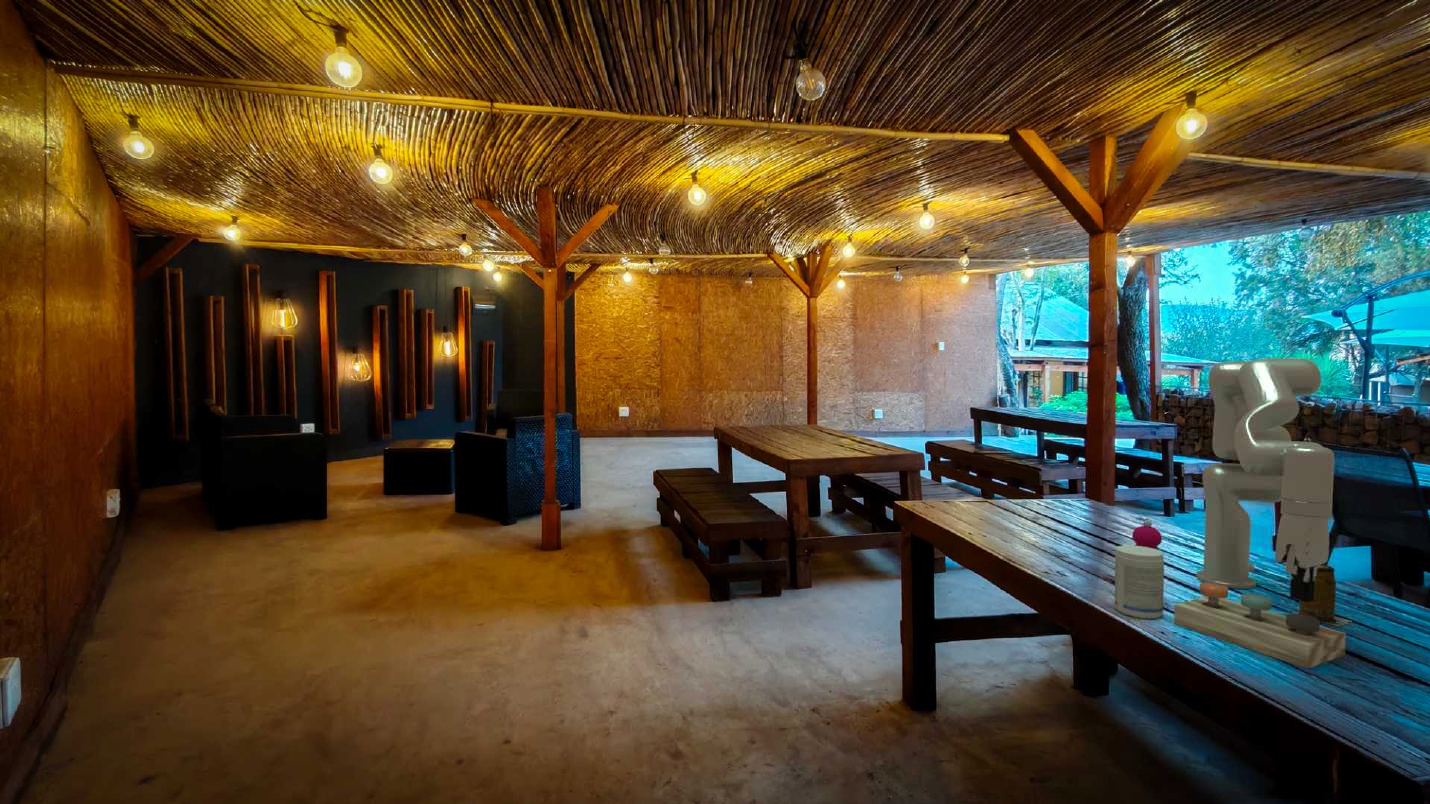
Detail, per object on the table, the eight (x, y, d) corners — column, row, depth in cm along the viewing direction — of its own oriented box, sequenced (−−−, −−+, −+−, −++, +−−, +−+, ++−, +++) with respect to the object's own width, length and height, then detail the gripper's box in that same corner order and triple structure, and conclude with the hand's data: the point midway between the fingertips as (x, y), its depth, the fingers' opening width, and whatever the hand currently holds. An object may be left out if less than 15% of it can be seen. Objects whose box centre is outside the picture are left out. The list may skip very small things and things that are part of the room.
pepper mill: (1168, 607, 156) (1171, 524, 155) (1134, 605, 158) (1137, 522, 157) (1154, 596, 164) (1157, 517, 163) (1122, 595, 165) (1125, 516, 164)
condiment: (1305, 609, 155) (1308, 559, 154) (1352, 622, 147) (1355, 569, 147) (1289, 614, 152) (1292, 563, 151) (1337, 627, 144) (1339, 574, 143)
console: (1211, 614, 152) (1211, 595, 152) (1344, 655, 130) (1345, 632, 130) (1174, 624, 146) (1174, 604, 146) (1307, 668, 124) (1308, 645, 124)
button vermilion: (1207, 603, 149) (1208, 581, 148) (1232, 610, 144) (1233, 588, 144) (1194, 607, 146) (1194, 584, 146) (1219, 614, 142) (1219, 591, 142)
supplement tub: (1173, 618, 150) (1175, 554, 149) (1138, 621, 148) (1140, 557, 147) (1137, 603, 159) (1138, 543, 158) (1104, 606, 157) (1105, 546, 156)
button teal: (1248, 615, 141) (1249, 592, 141) (1275, 623, 137) (1276, 599, 136) (1234, 619, 139) (1235, 595, 139) (1262, 627, 135) (1263, 603, 134)
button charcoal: (1293, 636, 134) (1294, 611, 134) (1324, 645, 130) (1325, 620, 129) (1279, 640, 132) (1280, 615, 132) (1310, 650, 127) (1311, 624, 127)
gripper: (1302, 501, 136) (1298, 588, 137) (1262, 508, 130) (1258, 599, 131) (1349, 508, 129) (1344, 600, 130) (1309, 516, 123) (1305, 612, 124)
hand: (1301, 599), depth 131 cm, fingers closed
